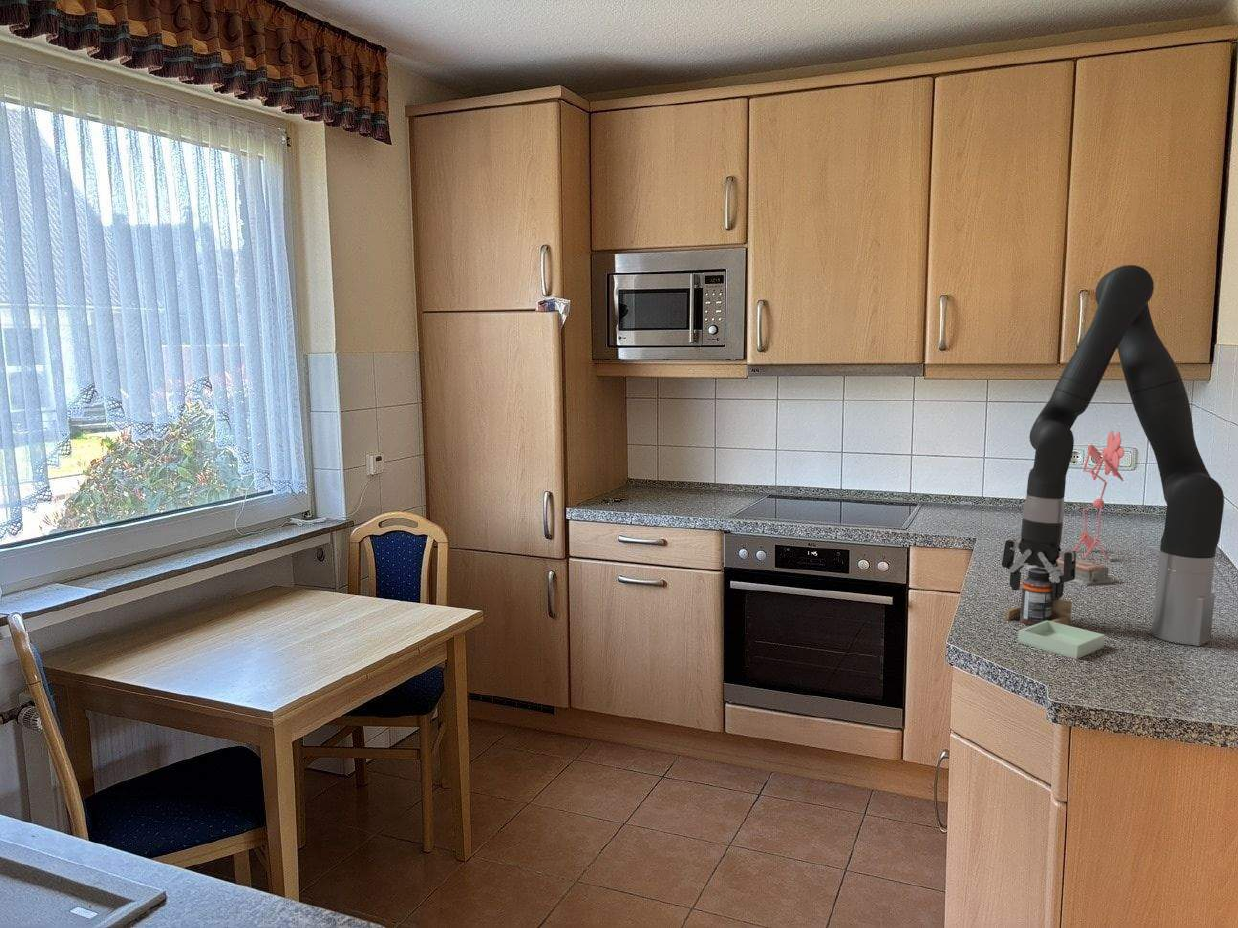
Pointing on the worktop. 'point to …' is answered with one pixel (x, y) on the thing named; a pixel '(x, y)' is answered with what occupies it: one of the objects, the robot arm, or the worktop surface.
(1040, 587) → the supplement bottle
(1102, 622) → the worktop surface
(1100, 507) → the figurine
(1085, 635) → the sage tray
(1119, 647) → the worktop surface
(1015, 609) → the wooden footstool
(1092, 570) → the packaged product
